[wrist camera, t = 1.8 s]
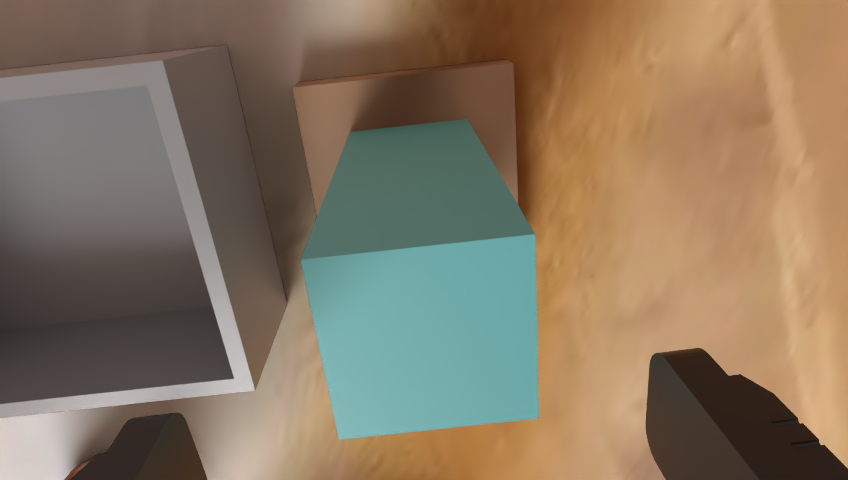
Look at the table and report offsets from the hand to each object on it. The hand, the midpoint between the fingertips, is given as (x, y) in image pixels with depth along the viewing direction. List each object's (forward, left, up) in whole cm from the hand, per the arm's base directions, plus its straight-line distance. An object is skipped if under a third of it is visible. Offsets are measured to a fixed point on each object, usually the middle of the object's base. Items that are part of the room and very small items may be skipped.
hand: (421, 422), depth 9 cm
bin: (+13, 0, -14) cm, 19 cm away
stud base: (0, 0, -14) cm, 14 cm away
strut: (0, 0, -13) cm, 13 cm away
